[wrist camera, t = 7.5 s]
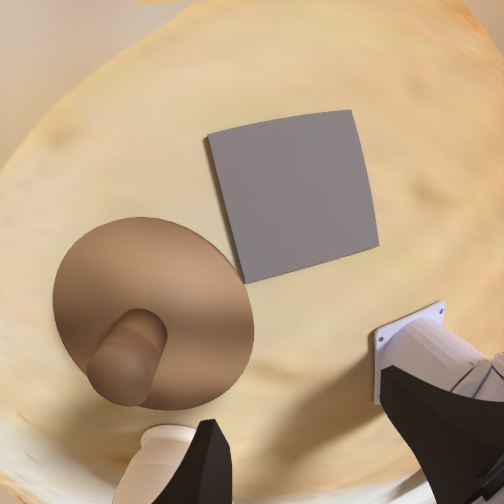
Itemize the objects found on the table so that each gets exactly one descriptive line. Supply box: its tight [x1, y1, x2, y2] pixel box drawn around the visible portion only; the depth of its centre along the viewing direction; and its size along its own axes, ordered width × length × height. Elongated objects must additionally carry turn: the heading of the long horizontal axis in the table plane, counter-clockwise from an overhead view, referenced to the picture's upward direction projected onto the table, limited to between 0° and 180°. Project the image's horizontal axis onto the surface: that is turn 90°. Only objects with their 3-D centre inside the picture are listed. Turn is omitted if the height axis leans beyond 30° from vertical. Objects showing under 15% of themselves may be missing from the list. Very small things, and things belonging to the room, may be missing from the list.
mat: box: [207, 110, 379, 283], centre depth 18 cm, size 10×10×1 cm
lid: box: [53, 217, 254, 410], centre depth 12 cm, size 12×12×6 cm
